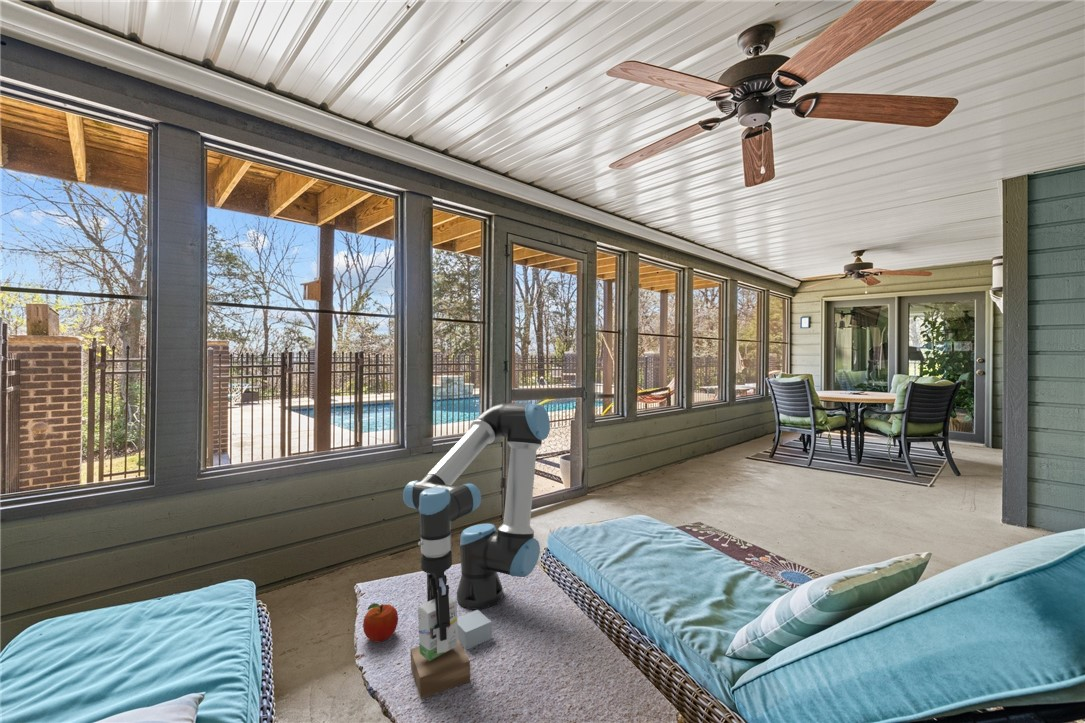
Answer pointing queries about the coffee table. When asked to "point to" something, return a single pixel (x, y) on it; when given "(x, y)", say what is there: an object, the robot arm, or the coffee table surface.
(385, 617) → the fruit
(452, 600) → the ink box
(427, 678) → the walnut block
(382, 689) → the coffee table surface
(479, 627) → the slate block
